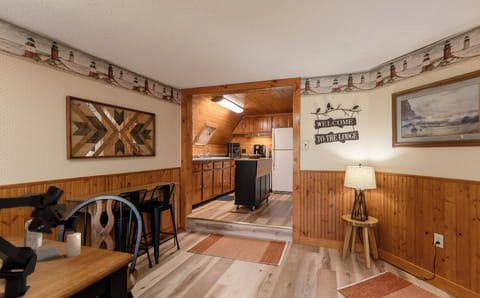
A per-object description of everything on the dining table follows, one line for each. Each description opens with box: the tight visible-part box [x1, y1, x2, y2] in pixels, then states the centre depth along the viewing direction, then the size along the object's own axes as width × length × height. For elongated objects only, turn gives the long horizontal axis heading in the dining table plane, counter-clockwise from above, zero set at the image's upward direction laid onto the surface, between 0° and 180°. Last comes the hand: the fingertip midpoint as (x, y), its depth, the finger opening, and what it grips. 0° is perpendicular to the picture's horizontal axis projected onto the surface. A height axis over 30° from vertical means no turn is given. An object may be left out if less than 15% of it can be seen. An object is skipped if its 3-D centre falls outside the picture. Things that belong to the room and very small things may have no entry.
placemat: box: [35, 245, 61, 263], centre depth 115 cm, size 16×11×1 cm
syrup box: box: [23, 219, 43, 250], centre depth 123 cm, size 6×6×14 cm
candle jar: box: [65, 232, 82, 258], centre depth 115 cm, size 6×6×10 cm
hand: (62, 233), depth 108 cm, fingers open, 9 cm apart
